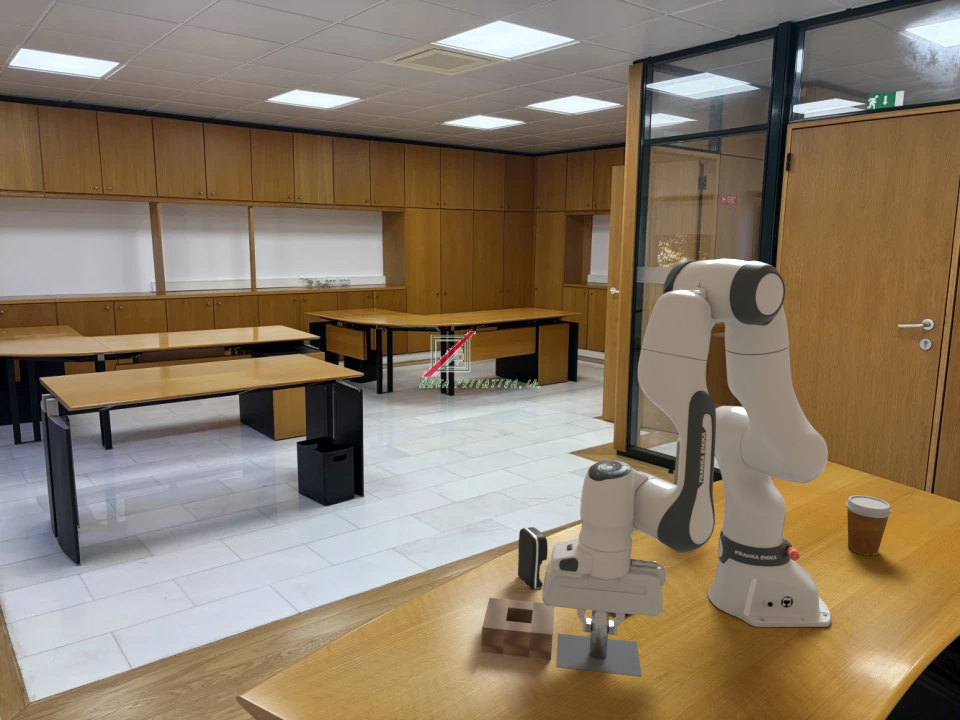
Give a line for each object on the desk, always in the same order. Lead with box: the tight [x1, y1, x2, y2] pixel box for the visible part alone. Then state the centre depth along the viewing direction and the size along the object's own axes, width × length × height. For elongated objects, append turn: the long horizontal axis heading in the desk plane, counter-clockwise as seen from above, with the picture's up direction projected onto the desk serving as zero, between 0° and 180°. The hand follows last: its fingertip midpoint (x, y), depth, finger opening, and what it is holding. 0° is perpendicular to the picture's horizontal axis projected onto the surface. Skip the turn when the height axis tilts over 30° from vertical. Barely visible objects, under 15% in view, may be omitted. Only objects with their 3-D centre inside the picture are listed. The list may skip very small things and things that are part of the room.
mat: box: [556, 633, 643, 677], centre depth 120 cm, size 14×10×1 cm
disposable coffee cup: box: [845, 494, 892, 556], centre depth 164 cm, size 10×10×12 cm
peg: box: [589, 610, 611, 659], centre depth 119 cm, size 3×3×10 cm
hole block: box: [481, 597, 555, 660], centre depth 123 cm, size 12×10×5 cm
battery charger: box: [517, 526, 549, 590], centre depth 144 cm, size 7×4×11 cm, turn 23°
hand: (599, 631), depth 119 cm, fingers closed on peg, 3 cm apart
